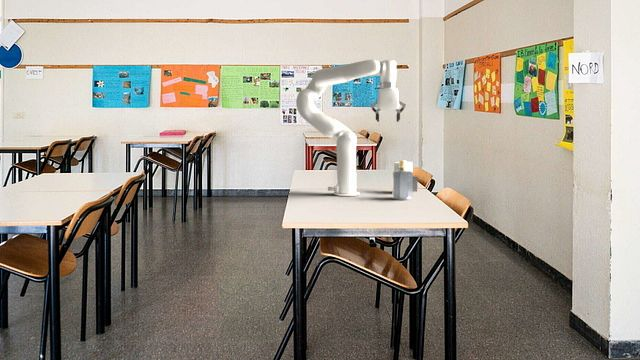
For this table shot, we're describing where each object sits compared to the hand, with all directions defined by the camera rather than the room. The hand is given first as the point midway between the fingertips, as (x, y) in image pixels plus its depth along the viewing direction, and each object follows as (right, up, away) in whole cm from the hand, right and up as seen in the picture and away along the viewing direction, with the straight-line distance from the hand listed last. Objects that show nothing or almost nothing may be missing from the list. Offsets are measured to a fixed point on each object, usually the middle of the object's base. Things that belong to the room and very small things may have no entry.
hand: (387, 121), depth 307 cm
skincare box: (+9, -35, +12) cm, 38 cm away
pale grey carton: (+7, -37, -8) cm, 39 cm away
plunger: (+6, -35, -8) cm, 37 cm away
